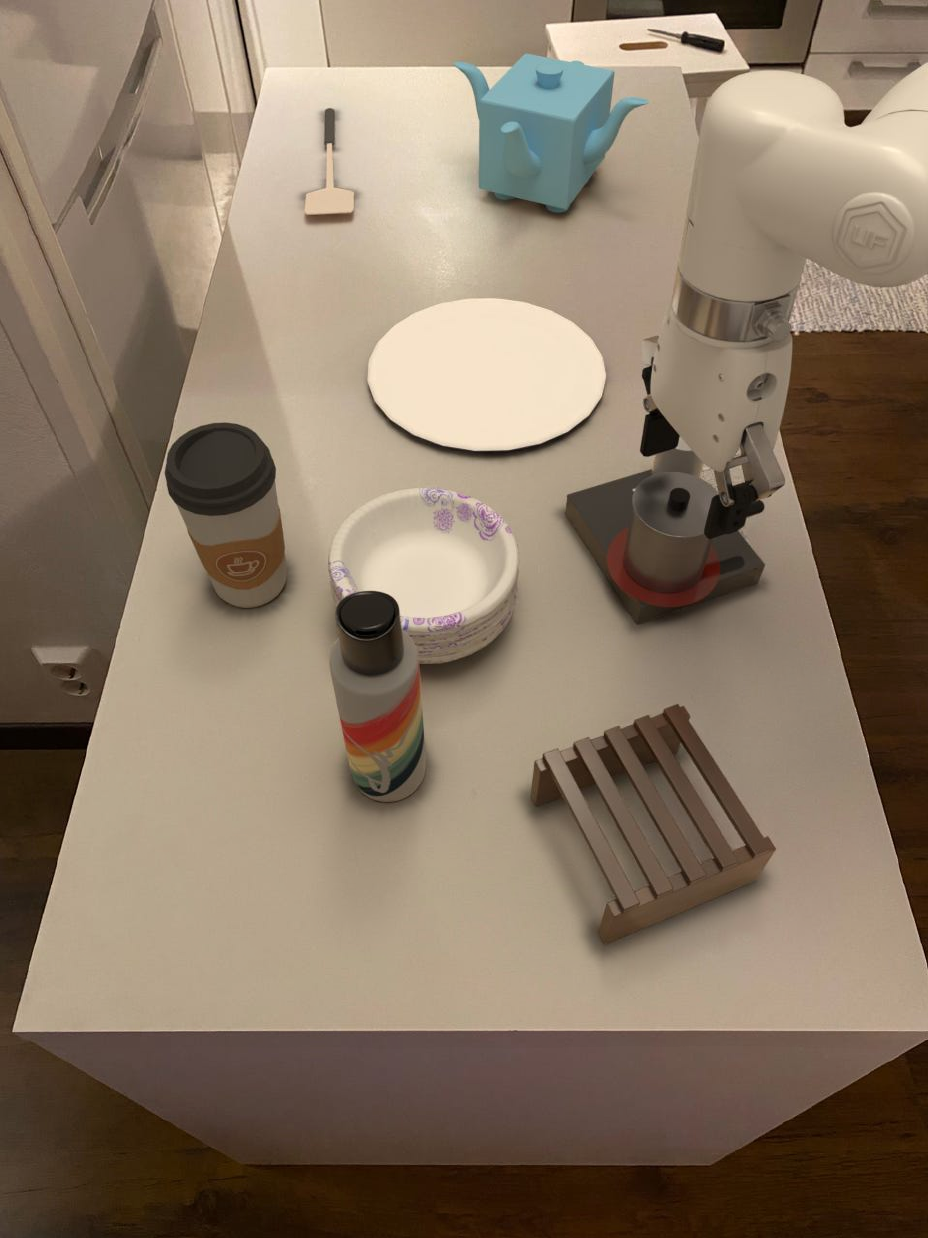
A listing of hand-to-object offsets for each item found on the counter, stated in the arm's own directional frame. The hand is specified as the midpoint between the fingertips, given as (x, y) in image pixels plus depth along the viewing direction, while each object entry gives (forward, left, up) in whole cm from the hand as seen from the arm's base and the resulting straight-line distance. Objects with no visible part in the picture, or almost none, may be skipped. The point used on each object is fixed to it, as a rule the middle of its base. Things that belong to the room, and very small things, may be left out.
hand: (689, 489), depth 73 cm
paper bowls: (+20, -5, -12) cm, 24 cm away
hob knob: (-6, -9, -9) cm, 14 cm away
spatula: (+5, -81, -12) cm, 82 cm away
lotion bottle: (+28, +8, -12) cm, 32 cm away
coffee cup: (+33, -14, -12) cm, 38 cm away
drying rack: (+13, +20, -12) cm, 27 cm away
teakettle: (-18, -64, -12) cm, 67 cm away
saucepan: (-2, 0, -9) cm, 9 cm away
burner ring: (0, 0, -9) cm, 9 cm away
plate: (+3, -32, -12) cm, 34 cm away
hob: (-3, -5, -12) cm, 13 cm away
